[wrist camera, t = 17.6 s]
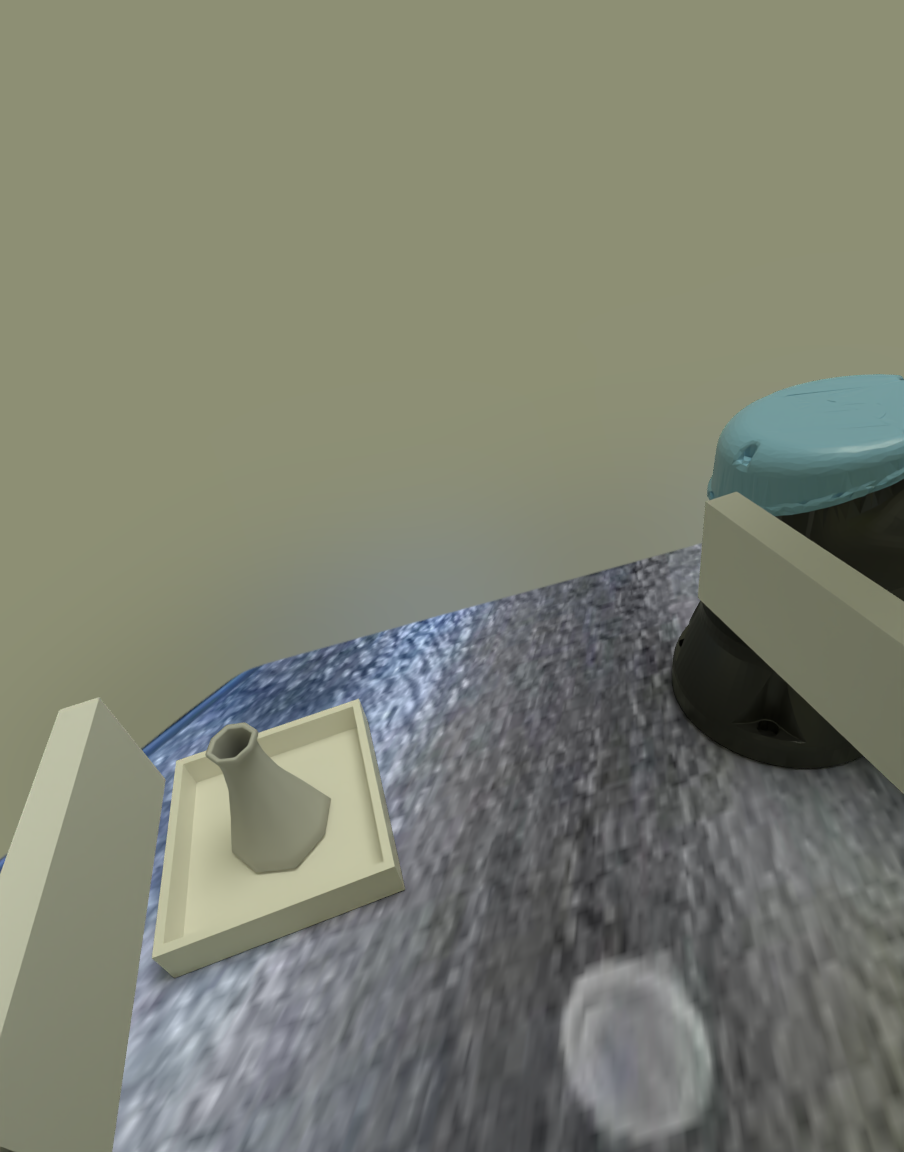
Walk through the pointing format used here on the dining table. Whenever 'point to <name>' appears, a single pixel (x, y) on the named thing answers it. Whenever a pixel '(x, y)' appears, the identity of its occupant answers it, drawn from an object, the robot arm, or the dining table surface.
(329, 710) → the box
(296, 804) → the flask
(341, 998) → the dining table surface
